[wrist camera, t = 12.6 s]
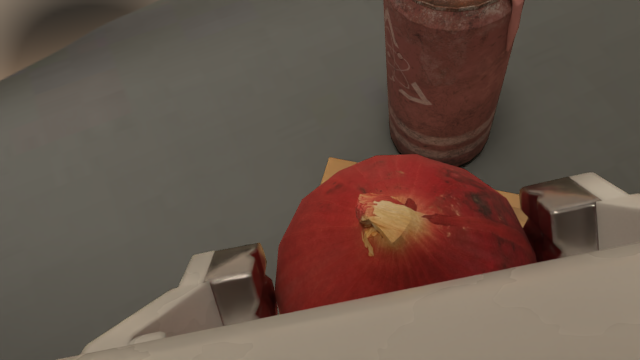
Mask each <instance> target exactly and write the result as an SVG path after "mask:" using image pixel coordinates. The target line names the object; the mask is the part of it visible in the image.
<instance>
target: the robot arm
mask: <svg viewBox="0 0 640 360" xmlns="http://www.w3.org/2000/svg"><path fill="white" fill-rule="evenodd" d="M519 200H520V209H521V210H522V211H523V213H524V214H525V215H526V216H527V217H528V219H527V221H526V223H525V225H524V227H523V230H524V232H525V234H526V236H527V238H528V240H529V242H530V244H531V246H532V248H533V250H534V252H535V254H536V260H537V263H533V264H528V265H523V266H518V267H513V268H508V269H503V270H498V271H493V272H488V273H483V274H479V275H474V276H469V277H464V278H459V279H454V280H449V281H444V282H439V283H434V284H429V285H424V286H419V287H414V288H409V289H404V290H399V291H394V292H389V293H384V294H379V295H375V296H370V297H365V298H360V299H355V300H350V301H345V302H340V303H335V304H330V305H325V306H320V307H315V308H310V309H305V310H300V311H295V312H290V313H285V314H280V315H277V301H276V296H275V291H274V287H273V283H272V280H271V279H270V278H269V277H268V276H267V275H265V270H266V263H267V261H266V258H265V254H264V251H263V248H262V246H261V244H260V243H255V244H249V245H244V246H239V247H234V248H228V249H223V250H218V251H215V250H214V251H210V252H206V253H201V254H197V255H193V256H192V258H191V260H190V262H189V264H188V267H187V269H186V271H185V273H184V275H183V277H182V280H181V282H180V284H179V286H178V288H175V289H171V290H169V291H168V292H166V293H165V294H163V295H162V296H160V297H159V298H157V299H156V300H154V301H153V302H151V303H150V304H148V305H146V306H145V307H143V308H142V309H140V310H139V311H137V312H136V313H134V314H133V315H131V316H130V317H128V318H127V319H125V320H124V321H122V322H121V323H119V324H118V325H116V326H115V327H113V328H111V329H110V330H108V331H107V332H105V333H104V334H102V335H101V336H99V337H98V338H96V339H95V340H93V341H92V342H90V343H89V344H87V345H86V346H85V348H84V349H83V351H82V352H81V354H80V355H77V356H72V357H67V358H62V359H57V360H640V194H638V193H637V194H632V195H629V194H627V193H626V192H624V191H622V190H621V189H619V188H617V187H616V186H614V185H613V184H611V183H609V182H608V181H606V180H605V179H603V178H601V177H600V176H598V175H597V174H595V173H593V172H590V173H584V174H580V175H576V176H571V177H564V178H560V179H556V180H551V181H547V182H543V183H538V184H534V185H530V186H525V187H523V188H522V189H520V194H519Z"/></svg>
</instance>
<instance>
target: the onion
mask: <svg viewBox="0 0 640 360" xmlns="http://www.w3.org/2000/svg"><path fill="white" fill-rule="evenodd" d="M533 263H537V260H536V254H535V252H534V250H533V248H532V246H531V244H530V242H529V240H528V238H527V236H526V234H525V232H524V230H523V228H522V226H521V224H520V222H519V220H518V218H517V216H516V214H515V212H514V210H513V208H512V206H511V205H510V203H509V201H508V200H507V198H505V197H504V196H503V195H501V194H500V193H498V192H497V191H495V190H494V189H493V188H491V187H490V186H488V185H487V184H485V183H484V182H483V181H481V180H480V179H478V178H477V177H475V176H474V175H473V174H471V173H470V172H468V171H467V170H465V169H463V168H460V167H456V166H453V165H449V164H446V163H443V162H439V161H436V160H433V159H429V158H426V157H423V156H421V155H418V154H406V155H377V156H374V157H371V158H369V159H366V160H364V161H362V162H359V163H357V164H354V165H352V166H350V167H347V168H345V169H342V170H340V171H338V172H337V173H335V174H334V175H333V176H332V177H330V178H329V179H328V180H326V181H325V182H324V183H323V184H321V185H320V186H319V187H317V188H316V189H315V190H314V191H312V192H311V193H310V194H309V195H307V196H306V197H305V198H303V199H302V201H301V203H300V205H299V207H298V209H297V211H296V213H295V215H294V217H293V219H292V221H291V223H290V225H289V227H288V229H287V230H286V232H285V234H284V236H283V238H282V240H281V242H280V244H279V250H278V261H277V272H276V284H275V296H276V301H277V305H278V308H279V312H280V314H285V313H290V312H295V311H300V310H305V309H310V308H315V307H320V306H325V305H330V304H335V303H340V302H345V301H350V300H355V299H360V298H365V297H370V296H375V295H379V294H384V293H389V292H394V291H399V290H404V289H409V288H414V287H419V286H424V285H429V284H434V283H439V282H444V281H449V280H454V279H459V278H464V277H469V276H474V275H479V274H483V273H488V272H493V271H498V270H503V269H508V268H513V267H518V266H523V265H528V264H533Z"/></svg>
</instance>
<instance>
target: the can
mask: <svg viewBox="0 0 640 360" xmlns="http://www.w3.org/2000/svg"><path fill="white" fill-rule="evenodd" d="M524 1H525V0H384V21H385V43H386V65H387V86H388V108H389V126H390V134H391V139H392V140H393V142H394V144H395V146H396V148H397V150H398V151H399V152H400V153H402V154H403V155H406V154H418V155H421V156H423V157H426V158H429V159H433V160H436V161H439V162H443V163H446V164H449V165H453V166H456V167H457V166H459V165H462V164H464V163H466V162H469V161H470V160H471V159H473V158H474V157H475V156H476V155H477V154H478V153H480V152H481V150H482V149H483V147H484V145H485V143H486V142H487V140H488V137H489V133H490V129H491V126H492V122H493V118H494V114H495V110H496V107H497V103H498V99H499V95H500V92H501V88H502V84H503V80H504V76H505V73H506V69H507V65H508V61H509V57H510V54H511V50H512V46H513V42H514V38H515V35H516V33H517V30H518V28H519V23H520V17H521V12H522V8H523V4H524Z"/></svg>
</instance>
